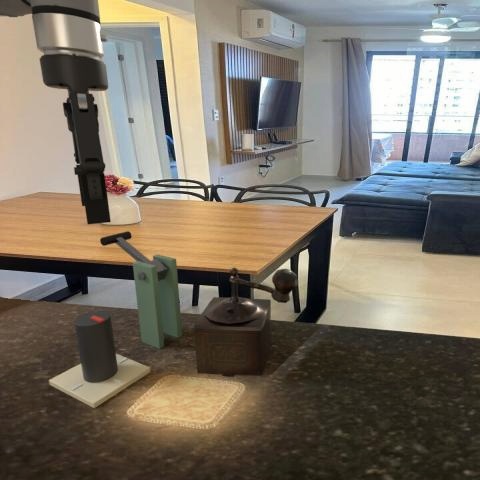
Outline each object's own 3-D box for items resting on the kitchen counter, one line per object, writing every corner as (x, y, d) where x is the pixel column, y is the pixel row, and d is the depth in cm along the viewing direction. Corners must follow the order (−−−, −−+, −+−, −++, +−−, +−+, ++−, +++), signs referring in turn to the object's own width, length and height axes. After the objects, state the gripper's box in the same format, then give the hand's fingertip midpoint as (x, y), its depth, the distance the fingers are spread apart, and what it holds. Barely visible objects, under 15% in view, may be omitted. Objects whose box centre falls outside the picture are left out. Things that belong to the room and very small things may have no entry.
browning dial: (76, 376, 55) (66, 318, 52) (105, 361, 59) (97, 306, 56) (96, 386, 53) (86, 326, 50) (124, 369, 57) (117, 313, 54)
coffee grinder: (193, 383, 57) (185, 272, 52) (214, 343, 68) (208, 248, 63) (296, 387, 57) (297, 275, 52) (301, 347, 68) (302, 251, 63)
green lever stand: (121, 349, 65) (109, 263, 61) (163, 326, 73) (155, 248, 69) (162, 366, 61) (153, 274, 57) (202, 340, 69) (197, 258, 65)
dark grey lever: (98, 245, 65) (101, 233, 63) (125, 238, 69) (127, 227, 68) (147, 286, 61) (150, 274, 60) (171, 276, 66) (174, 265, 65)
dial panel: (50, 392, 55) (48, 379, 54) (108, 360, 62) (107, 348, 62) (95, 416, 50) (93, 402, 50) (151, 378, 58) (150, 366, 58)
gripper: (116, 46, 43) (136, 228, 49) (97, 70, 63) (113, 198, 69) (33, 36, 39) (66, 236, 45) (41, 65, 59) (63, 201, 65)
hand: (95, 213), depth 57 cm, fingers open, 13 cm apart
